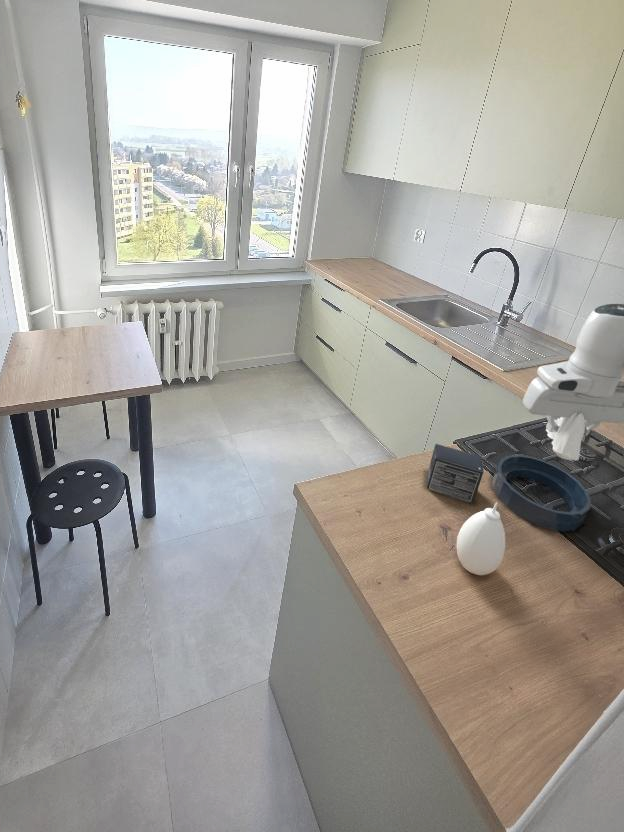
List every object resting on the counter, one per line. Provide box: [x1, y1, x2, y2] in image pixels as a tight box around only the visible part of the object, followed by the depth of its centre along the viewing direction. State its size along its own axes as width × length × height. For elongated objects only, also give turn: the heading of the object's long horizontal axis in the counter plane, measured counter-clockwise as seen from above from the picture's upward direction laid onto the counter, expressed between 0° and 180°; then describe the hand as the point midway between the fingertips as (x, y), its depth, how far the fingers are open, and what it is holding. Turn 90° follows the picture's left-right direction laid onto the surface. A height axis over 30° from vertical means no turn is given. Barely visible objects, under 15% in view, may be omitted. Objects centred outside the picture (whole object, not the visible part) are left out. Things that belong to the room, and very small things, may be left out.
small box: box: [426, 443, 485, 504], centre depth 101 cm, size 11×6×10 cm, turn 66°
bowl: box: [491, 454, 592, 532], centre depth 100 cm, size 18×18×6 cm
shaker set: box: [545, 412, 586, 461], centre depth 91 cm, size 12×4×11 cm, turn 152°
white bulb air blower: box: [456, 501, 506, 576], centre depth 81 cm, size 8×8×18 cm
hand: (565, 432), depth 92 cm, fingers closed on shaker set, 5 cm apart
